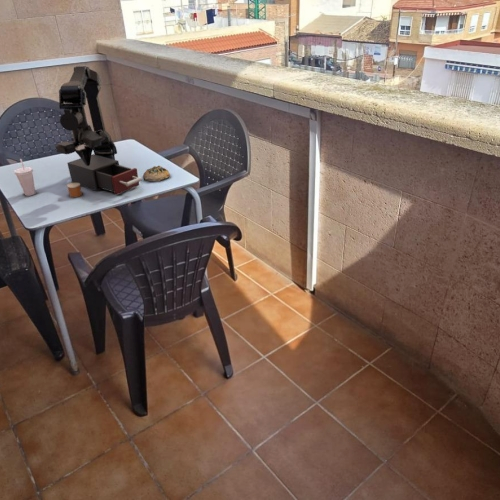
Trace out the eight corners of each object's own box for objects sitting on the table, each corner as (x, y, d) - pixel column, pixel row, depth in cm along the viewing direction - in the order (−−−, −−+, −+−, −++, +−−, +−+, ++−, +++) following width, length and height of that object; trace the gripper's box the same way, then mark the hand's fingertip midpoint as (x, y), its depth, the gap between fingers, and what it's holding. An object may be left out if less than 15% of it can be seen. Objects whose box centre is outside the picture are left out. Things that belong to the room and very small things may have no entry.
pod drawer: (148, 187, 167) (145, 170, 164) (125, 197, 159) (122, 180, 156) (114, 177, 177) (111, 161, 173) (92, 186, 169) (88, 170, 165)
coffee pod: (77, 191, 167) (75, 181, 165) (85, 194, 165) (82, 184, 163) (66, 195, 164) (64, 185, 162) (74, 198, 161) (71, 188, 159)
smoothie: (27, 198, 162) (17, 162, 155) (17, 195, 165) (6, 159, 158) (42, 192, 167) (32, 157, 160) (32, 189, 170) (22, 154, 163)
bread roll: (154, 170, 185) (154, 159, 182) (175, 177, 181) (175, 166, 178) (137, 179, 177) (136, 168, 174) (158, 187, 173) (158, 176, 170)
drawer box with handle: (121, 181, 176) (118, 160, 171) (96, 191, 167) (92, 170, 163) (97, 173, 184) (93, 154, 179) (72, 183, 175) (67, 162, 170)
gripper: (70, 132, 140) (80, 177, 148) (114, 120, 153) (122, 162, 162) (49, 127, 146) (60, 171, 154) (94, 116, 159) (102, 157, 167)
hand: (88, 165), depth 159 cm, fingers closed
